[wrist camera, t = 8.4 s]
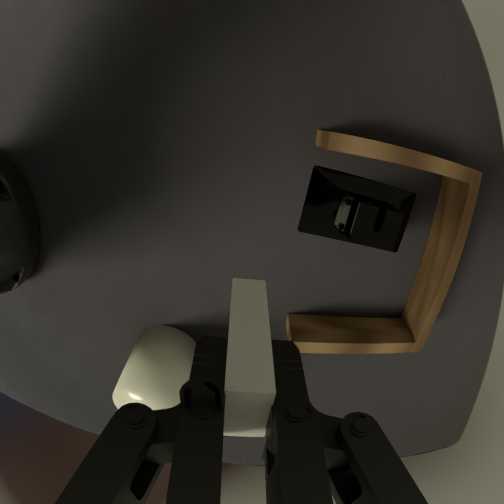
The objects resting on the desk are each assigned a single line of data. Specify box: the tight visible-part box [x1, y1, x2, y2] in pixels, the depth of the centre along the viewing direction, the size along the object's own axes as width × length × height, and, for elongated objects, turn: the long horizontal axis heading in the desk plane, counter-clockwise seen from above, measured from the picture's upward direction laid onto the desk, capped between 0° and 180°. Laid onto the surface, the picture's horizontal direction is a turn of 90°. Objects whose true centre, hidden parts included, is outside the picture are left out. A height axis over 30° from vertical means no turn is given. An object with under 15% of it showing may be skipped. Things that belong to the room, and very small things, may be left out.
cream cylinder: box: [113, 325, 196, 410], centre depth 26 cm, size 7×7×8 cm
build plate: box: [298, 165, 416, 252], centre depth 22 cm, size 12×7×5 cm, turn 79°
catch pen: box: [286, 130, 483, 354], centre depth 23 cm, size 13×17×4 cm
